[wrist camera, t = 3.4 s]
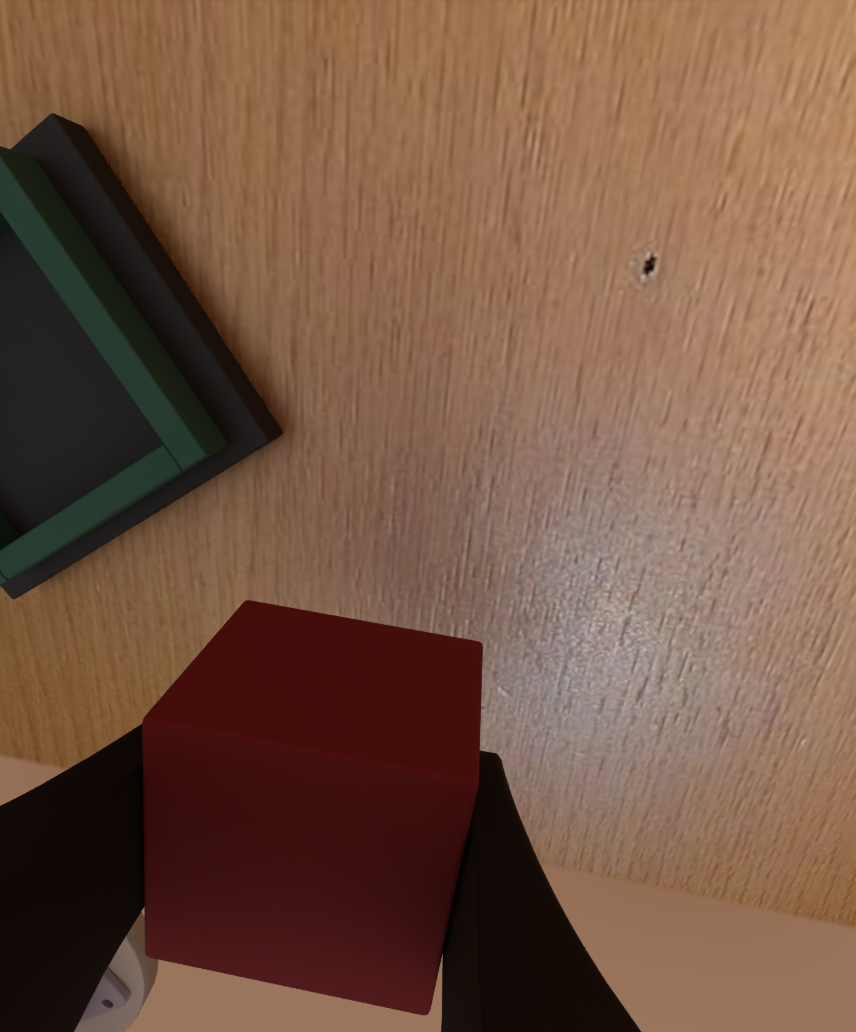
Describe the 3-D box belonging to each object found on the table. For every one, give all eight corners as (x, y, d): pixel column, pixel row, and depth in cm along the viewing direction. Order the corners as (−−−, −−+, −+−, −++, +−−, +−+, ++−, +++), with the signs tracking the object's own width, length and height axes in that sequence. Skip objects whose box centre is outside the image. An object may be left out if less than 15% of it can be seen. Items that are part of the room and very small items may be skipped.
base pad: (39, 584, 20) (-25, 623, 17) (-161, 336, 18) (-266, 339, 15) (284, 433, 17) (249, 453, 15) (84, 125, 15) (6, 90, 13)
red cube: (235, 788, 14) (143, 958, 10) (244, 597, 13) (139, 718, 9) (446, 829, 14) (429, 1018, 10) (483, 640, 12) (479, 783, 9)
